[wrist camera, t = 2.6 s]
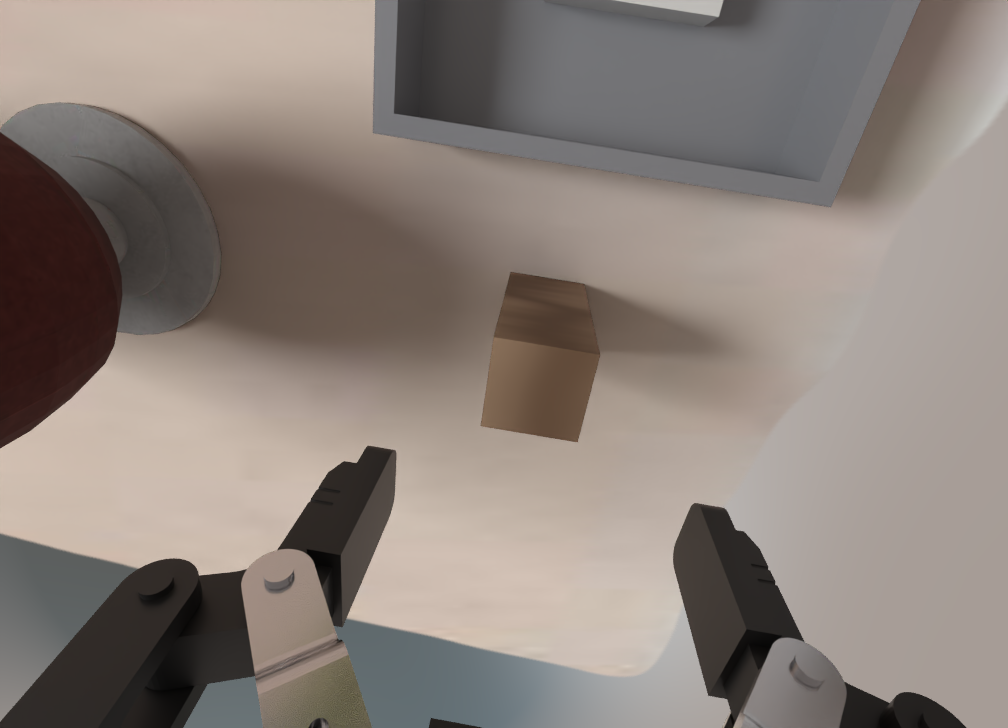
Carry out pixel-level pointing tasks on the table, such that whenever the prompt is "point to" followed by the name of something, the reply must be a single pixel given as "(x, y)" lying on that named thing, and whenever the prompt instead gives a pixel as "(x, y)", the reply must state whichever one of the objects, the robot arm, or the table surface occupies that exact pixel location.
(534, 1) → the grey square tray
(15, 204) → the mate gourd
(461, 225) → the table surface
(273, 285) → the table surface
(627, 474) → the table surface
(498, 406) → the brown block
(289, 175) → the table surface
